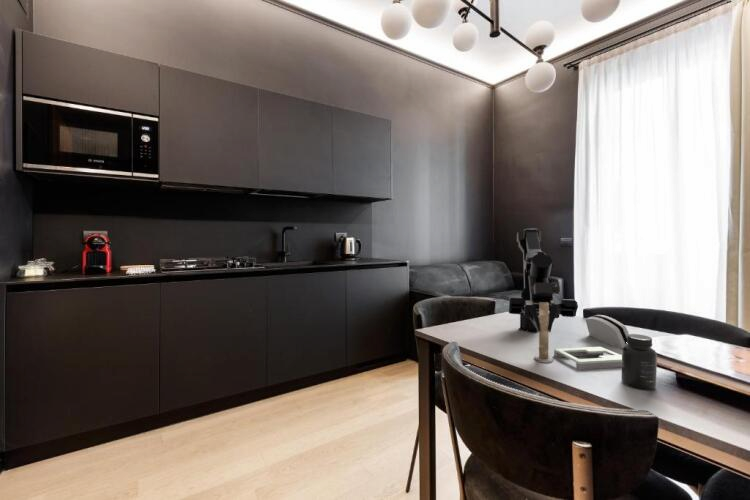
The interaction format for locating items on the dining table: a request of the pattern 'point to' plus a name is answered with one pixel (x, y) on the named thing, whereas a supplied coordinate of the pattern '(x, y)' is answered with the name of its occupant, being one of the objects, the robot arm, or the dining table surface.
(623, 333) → the grey curved piece
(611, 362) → the keyhole board
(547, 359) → the peg
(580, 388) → the dining table surface
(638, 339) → the supplement bottle
